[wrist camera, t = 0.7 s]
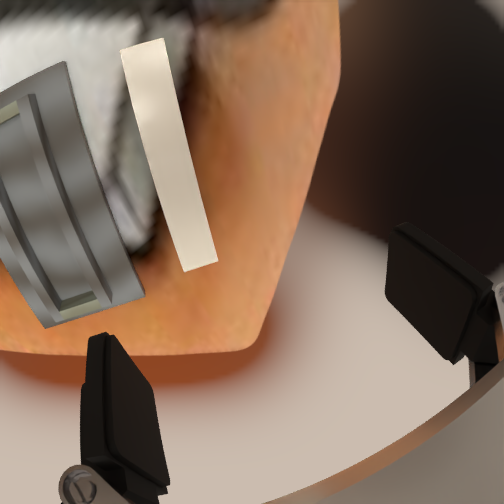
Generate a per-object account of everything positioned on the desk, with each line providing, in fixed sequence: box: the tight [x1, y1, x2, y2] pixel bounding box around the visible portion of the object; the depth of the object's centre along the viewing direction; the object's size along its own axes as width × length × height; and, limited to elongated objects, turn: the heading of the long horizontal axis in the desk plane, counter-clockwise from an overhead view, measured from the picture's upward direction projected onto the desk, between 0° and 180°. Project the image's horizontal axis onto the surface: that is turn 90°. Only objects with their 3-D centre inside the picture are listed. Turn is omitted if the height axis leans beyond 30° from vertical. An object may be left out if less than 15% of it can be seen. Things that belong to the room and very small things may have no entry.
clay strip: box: [120, 38, 218, 272], centre depth 25 cm, size 18×3×8 cm, turn 11°
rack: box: [0, 61, 145, 329], centre depth 25 cm, size 26×14×3 cm, turn 11°
